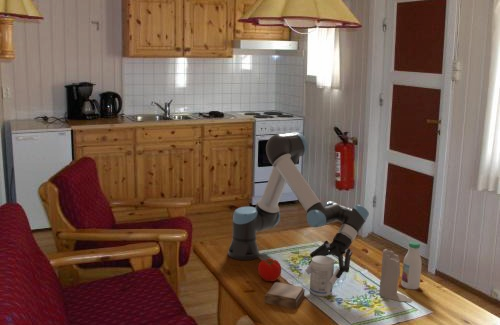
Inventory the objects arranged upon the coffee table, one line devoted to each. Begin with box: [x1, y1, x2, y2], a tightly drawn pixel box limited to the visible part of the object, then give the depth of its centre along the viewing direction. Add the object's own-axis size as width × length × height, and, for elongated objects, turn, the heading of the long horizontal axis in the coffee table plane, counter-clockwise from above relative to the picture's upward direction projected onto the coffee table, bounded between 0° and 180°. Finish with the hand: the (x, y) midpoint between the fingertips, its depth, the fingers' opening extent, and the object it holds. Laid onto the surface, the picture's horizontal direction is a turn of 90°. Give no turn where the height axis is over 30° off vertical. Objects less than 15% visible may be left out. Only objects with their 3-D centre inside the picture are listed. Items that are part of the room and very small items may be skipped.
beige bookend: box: [378, 248, 413, 303], centre depth 224 cm, size 7×14×20 cm, turn 58°
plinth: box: [264, 281, 306, 310], centre depth 219 cm, size 13×13×4 cm
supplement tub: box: [309, 255, 335, 297], centre depth 226 cm, size 10×10×15 cm
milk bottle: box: [400, 241, 423, 290], centre depth 235 cm, size 8×8×20 cm
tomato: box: [257, 258, 282, 282], centre depth 238 cm, size 11×11×9 cm
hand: (318, 278), depth 225 cm, fingers open, 13 cm apart
